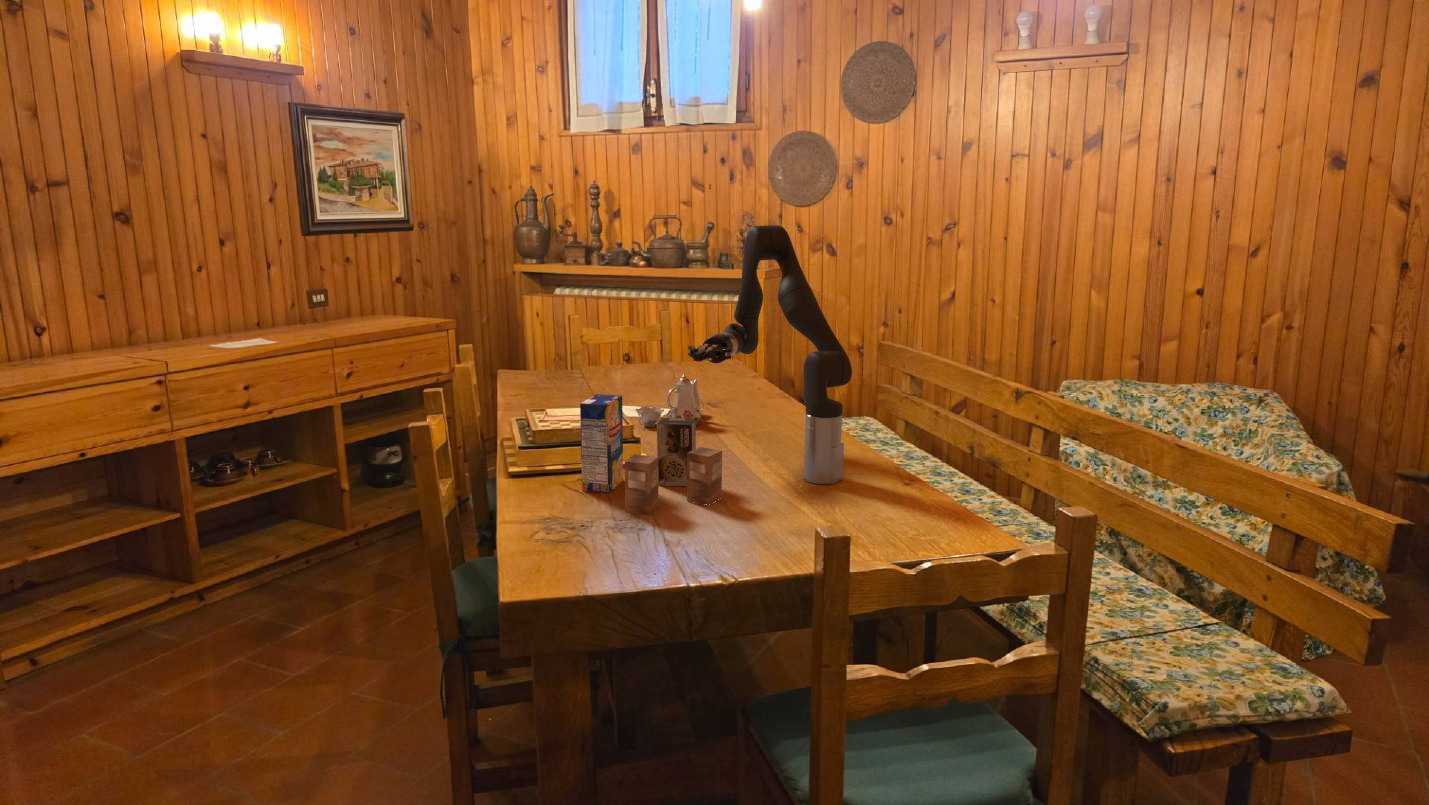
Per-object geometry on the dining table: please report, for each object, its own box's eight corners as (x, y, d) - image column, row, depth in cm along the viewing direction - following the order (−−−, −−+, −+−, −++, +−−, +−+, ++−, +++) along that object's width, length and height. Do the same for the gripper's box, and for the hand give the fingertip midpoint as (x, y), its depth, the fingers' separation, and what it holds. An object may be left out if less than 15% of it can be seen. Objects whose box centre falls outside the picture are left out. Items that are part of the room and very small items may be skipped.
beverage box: (581, 491, 229) (579, 403, 224) (597, 478, 239) (596, 393, 234) (608, 493, 227) (606, 405, 222) (623, 480, 237) (622, 395, 233)
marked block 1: (660, 506, 219) (659, 456, 216) (651, 515, 213) (650, 464, 210) (634, 503, 220) (633, 454, 218) (624, 512, 214) (623, 462, 212)
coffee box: (696, 479, 239) (696, 418, 235) (692, 487, 232) (692, 424, 229) (661, 477, 240) (661, 416, 236) (656, 485, 234) (656, 422, 230)
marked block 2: (722, 499, 224) (723, 450, 221) (709, 506, 219) (709, 457, 216) (700, 494, 227) (700, 446, 224) (686, 501, 222) (686, 453, 219)
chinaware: (684, 415, 312) (680, 366, 310) (725, 418, 302) (721, 367, 300) (629, 432, 290) (624, 379, 288) (671, 435, 280) (666, 381, 278)
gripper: (698, 332, 258) (673, 341, 242) (743, 335, 253) (721, 344, 237) (698, 359, 259) (673, 370, 243) (743, 362, 255) (721, 373, 239)
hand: (697, 357), depth 240 cm, fingers closed
